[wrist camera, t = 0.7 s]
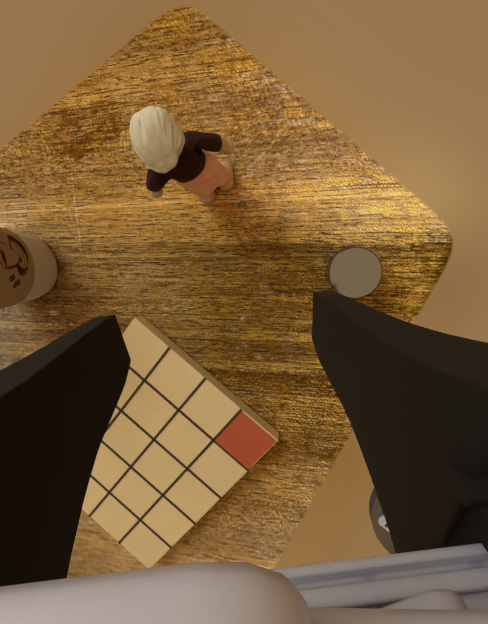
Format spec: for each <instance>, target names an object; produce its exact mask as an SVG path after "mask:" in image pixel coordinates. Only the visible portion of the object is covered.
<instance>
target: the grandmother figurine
mask: <svg viewBox="0 0 488 624" xmlns="http://www.w3.org/2000/svg"><path fill="white" fill-rule="evenodd" d="M130 136H131V140H132V145H133V148H134V150H135V152H136V154H137V155H138V156H139V158H140V159H141V160H142V161H143V162H144V163H146V168H148V173H147V181H146V186H147V189H148V190H150V194H151V195H152V196H153V197H154V198H160V197H161V196H162V194H163V190H162V188H163V187H164V185H165V184H166V183H167V182H168V181H169V180H170V179H174V180H175V181H176V182H177V183H178V184H179V185H181V186H182V187H183V188H184V189H186V190H188V191H190V192H192V193H194V194H196V195H197V196H198V197H199V198H200V199H201V201H202V202H204V203H207V204H208V203H210V202H212V201H213V200H214V199H215V196H216V194H215V189H216V188H217V187H219V188H220V189H221V190H223V191H227V190H229V189H231V188H232V187H233V185H234V178H233V168H232V165H231V164H230V163H229V162H228V161H218V160H217V159H216V158H215V157H213V156H212V155H211V154H210V153H208V152H206V151H204V150H207V151H211V152H220V153H224V154H226V155H230V154H232V153H233V151H234V143H233V142H232V141H231V140H226V139H225V138H223V137H221V136H220V135H218V134H214V133H203V132H197V131H187V132H184V133H183V132H182V131H181V128H180V126H179V124H178V123H177V122H176V121H175V120H174V118H173V116H172V115H171V114H168V113H167V112H166V111H165V110H164V109H162V108H160V107H153V106H149V107H146V108H144V109H142V110H141V111H139V112H137V113H136V114H134V115H133V116H132V118H131V121H130ZM202 149H204V150H202Z"/></svg>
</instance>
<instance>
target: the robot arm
mask: <svg viewBox="0 0 488 624" xmlns="http://www.w3.org/2000/svg"><path fill="white" fill-rule="evenodd" d="M312 340H313V343H314V346H315V349H316V352H317V355H318V358H319V360H320V363H321V365H322V367H323V369H324V371H325V373H326V374H327V376H328V378H329V380H330V382H331V384H332V386H333V388H334V390H335V392H336V394H337V396H338V398H339V400H340V402H341V403H342V405H343V407H344V409H345V411H346V414H347V416H348V418H349V420H350V422H351V425H352V427H353V430H354V433H355V435H356V438H357V440H358V443H359V446H360V448H361V451H362V454H363V456H364V459H365V462H366V465H367V467H368V470H369V473H370V476H371V478H372V481H373V484H374V487H375V490H376V493H377V496H378V499H379V502H380V505H381V508H382V511H383V514H382V515H381V516H380V517H379V518H378V522H379V524H380V525H381V526H382V527H383V528H384V529H385V530H387V531H388V532H389V533H390V536H391V539H392V542H393V545H394V548H395V551H396V554H390V555H381V556H374V557H366V558H357V559H350V560H341V561H334V562H326V563H317V564H309V565H301V566H294V567H285V568H278V569H266V568H263V567H259V566H256V565H253V564H250V563H246V562H194V563H186V564H178V565H170V566H161V567H153V568H145V569H137V570H129V571H121V572H113V573H105V574H97V575H89V576H81V577H73V578H67V573H68V568H69V563H70V558H71V553H72V549H73V544H74V540H75V536H76V531H77V527H78V523H79V518H80V514H81V510H82V506H83V503H84V499H85V495H86V491H87V487H88V484H89V480H90V477H91V473H92V470H93V466H94V463H95V460H96V456H97V453H98V450H99V447H100V445H101V442H102V439H103V437H104V434H105V432H106V430H107V427H108V425H109V422H110V420H111V418H112V415H113V413H114V410H115V408H116V406H117V403H118V401H119V398H120V396H121V394H122V391H123V389H124V386H125V383H126V380H127V376H128V372H129V367H130V363H131V358H130V356H129V353H128V350H127V347H126V344H125V341H124V339H123V336H122V333H121V330H120V327H119V325H118V322H117V319H116V316H115V315H108V316H99V317H96V318H94V319H91V320H89V321H87V322H86V323H84V324H82V325H80V326H78V327H77V328H75V329H73V330H72V331H70V332H68V333H67V334H65V335H63V336H61V337H60V338H58V339H56V340H55V341H53V342H51V343H50V344H48V345H46V346H45V347H43V348H41V349H39V350H37V351H36V352H34V353H32V354H30V355H29V356H27V357H25V358H23V359H21V360H20V361H18V362H16V363H14V364H12V365H10V366H8V367H6V368H4V369H2V370H0V624H488V343H486V342H481V341H475V340H471V339H467V338H462V337H458V336H453V335H449V334H445V333H441V332H437V331H434V330H430V329H427V328H424V327H420V326H418V325H414V324H411V323H408V322H405V321H402V320H400V319H397V318H395V317H392V316H389V315H387V314H384V313H382V312H379V311H377V310H375V309H372V308H370V307H368V306H366V305H364V304H361V303H359V302H357V301H355V300H353V299H351V298H348V297H346V296H344V295H342V294H339V293H337V292H334V291H331V290H327V291H318V292H313V325H312ZM385 524H387V525H385Z"/></svg>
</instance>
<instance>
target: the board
mask: <svg viewBox="0 0 488 624" xmlns="http://www.w3.org/2000/svg"><path fill="white" fill-rule="evenodd" d="M122 336H123V339H124V341H125V344H126V347H127V350H128V353H129V356H130V358H131V363H130V367H129V372H128V376H127V380H126V383H125V386H124V389H123V391H122V394H121V396H120V398H119V401H118V403H117V406H116V408H115V410H114V413H113V415H112V418H111V420H110V422H109V425H108V427H107V430H106V432H105V434H104V437H103V439H102V442H101V445H100V447H99V450H98V453H97V456H96V460H95V463H94V466H93V470H92V473H91V477H90V480H89V484H88V487H87V491H86V495H85V499H84V503H83V506H82V510H84V511H85V512H86V513H87V514H88V516H89V517H91V518H92V519H94V520H95V521H96V522H97V523H98V524H99V525H100V526H101V527H102V528H104V529H105V530H106V531H107V532H108V533H109V534H110V535H111V536H112V537H114V538H115V539H116V540H117V541H118V543H119V544H121V545H122V546H124V547H125V548H126V549H127V550H128V551H129V552H130V553H131V554H132V555H133V556H135V557H136V558H137V559H138V560H139V561H140V562H141V563H142V564H143V565H145V566H146V567H147V568H151V567H152V566H153V565H154V564H155V563H156V562H157V561H158V560H159V559H160V558H161V557H162V556H163V555H164V554H165V553H166V552H167V551H168V550H169V549H171V548H172V546H173V545H174V544H175V543H176V542H177V541H178V540H179V539H180V538H181V537H182V536H183V535H184V534H185V533H186V532H187V531H188V530H189V529H190V528H191V527H192V526H193V525H195V524H196V522H197V521H198V520H199V519H200V518H201V517H202V516H203V515H204V514H205V513H206V512H207V511H208V510H209V509H210V508H211V507H212V506H213V505H214V504H215V503H216V502H217V501H218V500H219V499H221V498H222V496H223V495H224V494H225V493H226V492H227V491H228V490H229V489H230V488H231V487H232V486H233V485H234V484H235V483H236V482H237V481H238V480H239V479H240V478H241V477H242V476H243V475H244V474H245V473H246V472H248V471H249V469H250V468H251V467H252V466H253V465H254V464H255V463H256V462H257V461H258V460H259V459H260V458H261V457H262V456H263V455H264V454H265V453H266V452H267V451H268V450H269V449H270V448H271V447H272V446H273V445H274V444H275V443H276V442H277V441H278V438H279V432H278V431H276V430H275V429H274V428H273V427H272V426H271V425H269V424H268V423H267V422H266V421H265V420H264V419H262V418H261V417H260V416H259V415H258V414H257V413H255V412H254V411H253V410H252V409H251V408H249V407H248V406H247V405H246V404H245V403H244V402H242V401H241V400H240V399H239V398H238V397H237V396H235V395H234V394H233V393H232V392H231V391H230V390H228V389H227V388H226V387H225V386H224V385H223V384H221V383H220V382H219V381H218V380H217V379H216V378H214V377H213V376H212V375H211V374H210V373H209V372H207V371H206V370H205V369H204V368H203V367H202V366H200V365H199V364H198V363H197V362H196V361H195V360H193V359H192V358H191V357H190V356H189V355H188V354H186V353H185V352H184V351H183V350H182V349H181V348H179V347H178V346H177V345H176V344H175V343H174V342H172V341H171V340H170V339H169V338H168V337H167V336H165V335H164V334H163V333H162V332H161V331H160V330H158V329H157V328H156V327H155V326H154V325H153V324H151V323H150V322H149V321H148V320H147V319H146V318H144V317H143V316H142V315H141V316H138V317H135V318H134V319H133V320H132V322H131V323H130V325H129V326H128V327H127V329H126V330H125V332H124V333H123V335H122Z"/></svg>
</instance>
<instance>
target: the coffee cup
mask: <svg viewBox="0 0 488 624" xmlns="http://www.w3.org/2000/svg"><path fill="white" fill-rule="evenodd" d="M57 272H58V267H57V262H56V258H55V256H54V254H53V252H52V250H51V249H50V248H49V247H48V245H47V244H46V243H45V242H43V241H41V240H40V239H38V238H35V237H33V236H31V235H29V234H25V233H21V232H17V231H13V230H9V229H5V228H1V227H0V309H1V308H5V307H9V306H12V305H16V304H19V303H23V302H27V301H30V300H34V299H37V298H38V297H40V296H42V295H44V294H46V293H48V292H49V291H50V290H51V289H52V288H53V286H54V285H55V282H56V279H57Z"/></svg>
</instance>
